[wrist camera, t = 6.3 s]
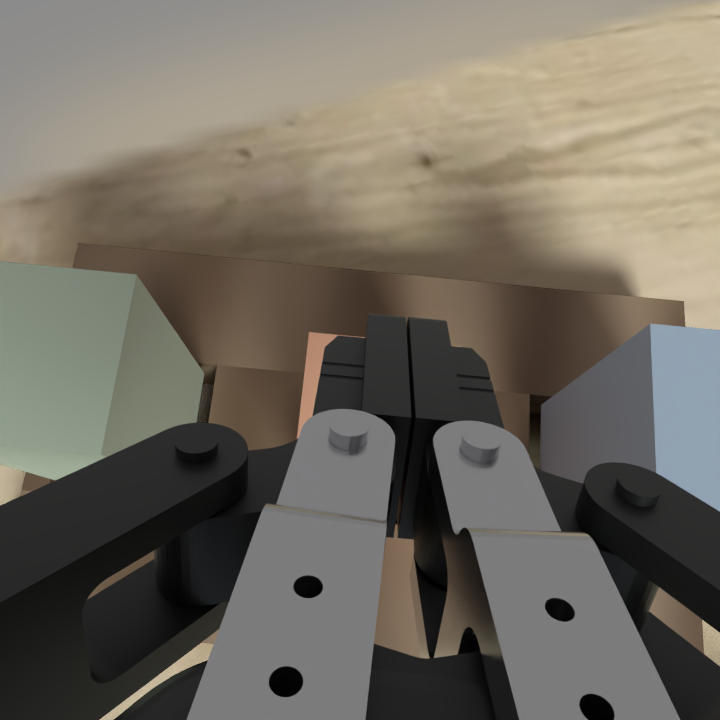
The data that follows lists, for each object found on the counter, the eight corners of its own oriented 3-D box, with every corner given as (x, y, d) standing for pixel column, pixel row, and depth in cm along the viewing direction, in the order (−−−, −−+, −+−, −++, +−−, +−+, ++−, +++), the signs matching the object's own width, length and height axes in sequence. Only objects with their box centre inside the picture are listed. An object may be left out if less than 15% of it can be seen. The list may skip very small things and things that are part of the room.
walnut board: (649, 326, 30) (683, 301, 27) (663, 672, 25) (705, 687, 23) (103, 274, 29) (78, 243, 26) (30, 616, 25) (-10, 624, 22)
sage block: (204, 373, 25) (136, 274, 16) (185, 493, 24) (100, 454, 15) (86, 362, 25) (-46, 257, 16) (60, 482, 24) (-97, 436, 15)
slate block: (657, 416, 25) (826, 340, 17) (662, 536, 24) (849, 523, 15) (541, 404, 25) (649, 323, 16) (539, 525, 24) (657, 505, 15)
